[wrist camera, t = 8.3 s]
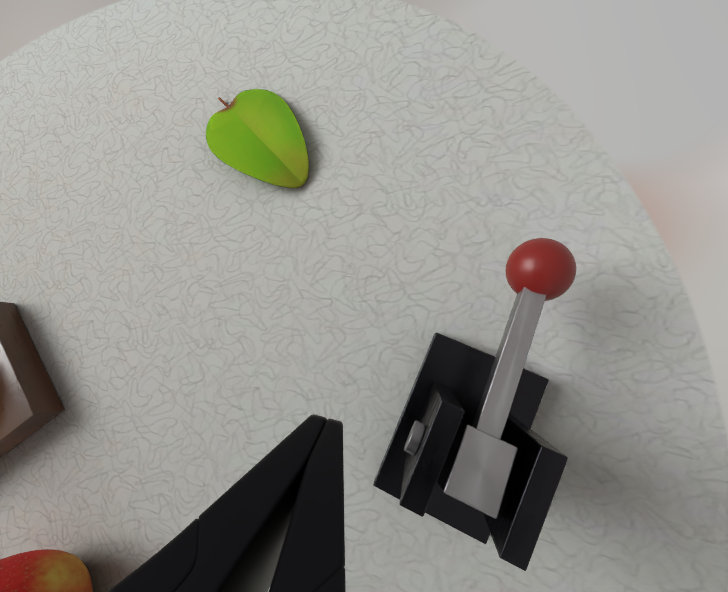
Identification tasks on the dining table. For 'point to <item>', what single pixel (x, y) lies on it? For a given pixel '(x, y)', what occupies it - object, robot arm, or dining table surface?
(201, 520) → the robot arm
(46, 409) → the button block
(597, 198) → the dining table surface
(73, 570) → the apple
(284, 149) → the decorative leaf
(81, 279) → the dining table surface
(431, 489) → the bracket
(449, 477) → the switch
